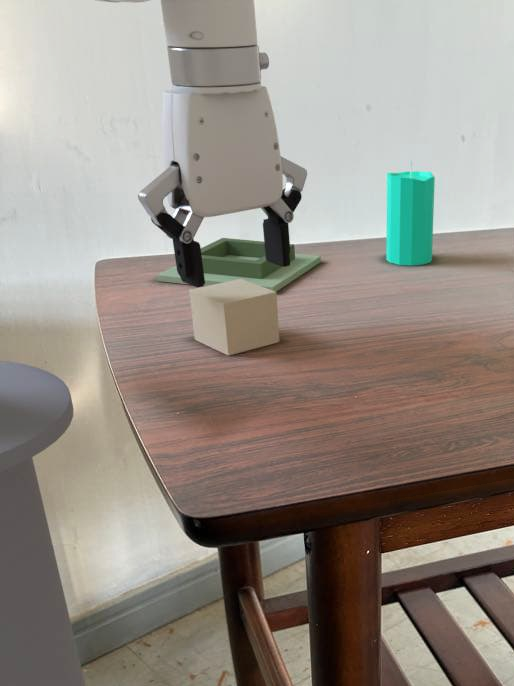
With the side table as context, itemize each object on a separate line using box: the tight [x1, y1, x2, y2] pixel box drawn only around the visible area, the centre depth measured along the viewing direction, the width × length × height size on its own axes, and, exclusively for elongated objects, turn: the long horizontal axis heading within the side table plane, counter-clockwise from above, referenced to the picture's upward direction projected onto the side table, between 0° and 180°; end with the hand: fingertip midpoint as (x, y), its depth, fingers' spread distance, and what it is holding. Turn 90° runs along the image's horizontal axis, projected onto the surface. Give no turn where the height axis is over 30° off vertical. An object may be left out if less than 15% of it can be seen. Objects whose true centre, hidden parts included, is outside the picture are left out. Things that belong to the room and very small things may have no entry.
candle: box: [385, 160, 436, 266], centre depth 111 cm, size 6×6×12 cm
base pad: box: [156, 237, 322, 293], centre depth 107 cm, size 15×15×3 cm
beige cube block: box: [188, 279, 280, 357], centre depth 85 cm, size 6×6×5 cm
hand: (237, 273), depth 83 cm, fingers open, 9 cm apart
